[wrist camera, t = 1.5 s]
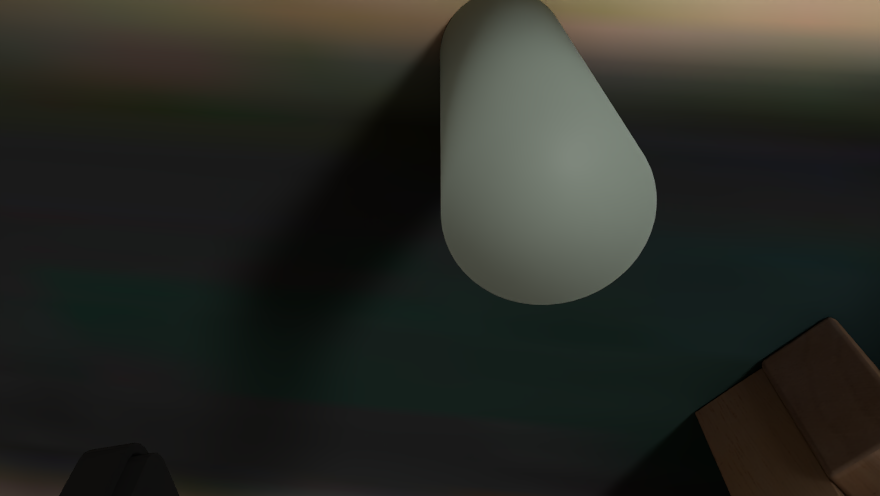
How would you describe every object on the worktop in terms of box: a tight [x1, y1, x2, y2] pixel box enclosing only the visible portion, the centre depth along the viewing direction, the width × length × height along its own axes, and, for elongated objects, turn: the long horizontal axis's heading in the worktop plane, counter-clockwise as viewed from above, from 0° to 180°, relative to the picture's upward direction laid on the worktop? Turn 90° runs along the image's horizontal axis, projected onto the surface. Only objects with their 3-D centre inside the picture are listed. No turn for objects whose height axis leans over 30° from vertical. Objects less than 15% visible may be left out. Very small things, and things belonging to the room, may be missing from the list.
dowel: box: [440, 0, 657, 305], centre depth 20 cm, size 4×4×12 cm
